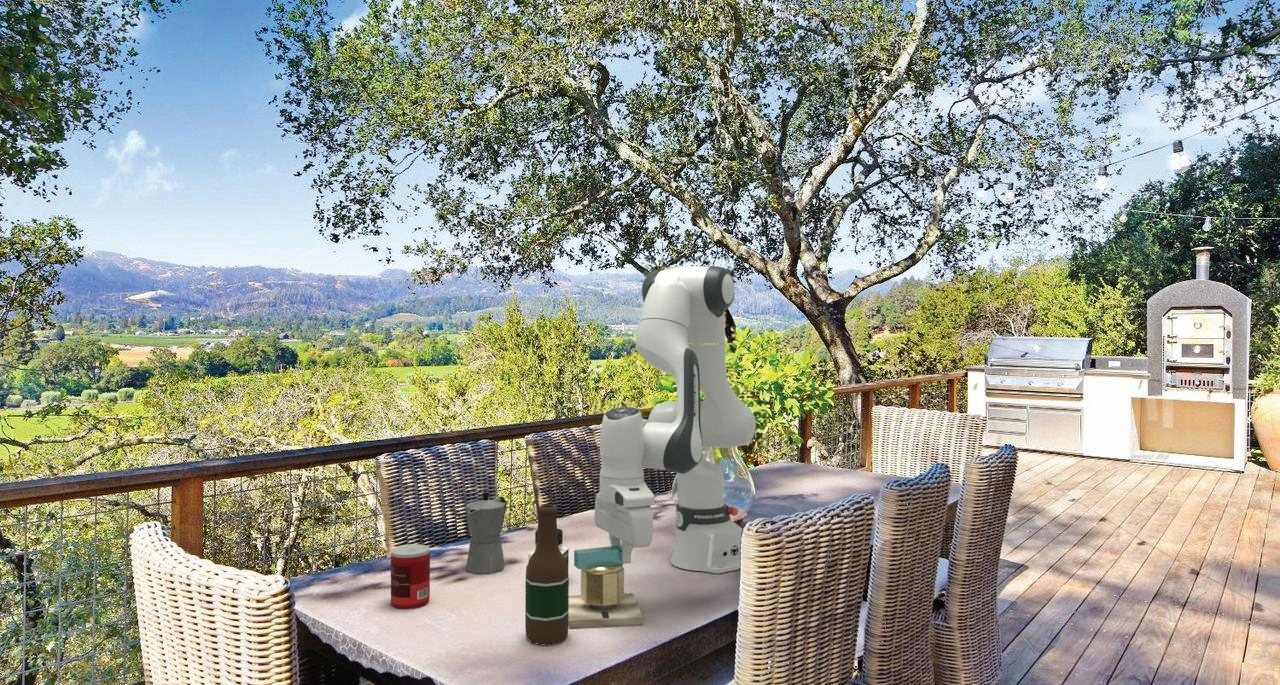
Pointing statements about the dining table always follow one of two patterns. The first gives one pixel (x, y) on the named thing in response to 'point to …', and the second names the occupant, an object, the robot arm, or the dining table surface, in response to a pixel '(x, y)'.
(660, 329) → the robot arm
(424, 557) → the canned food
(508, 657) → the dining table surface
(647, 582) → the dining table surface
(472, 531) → the coffeepot
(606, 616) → the square recessed plate
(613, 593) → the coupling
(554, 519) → the beer bottle
